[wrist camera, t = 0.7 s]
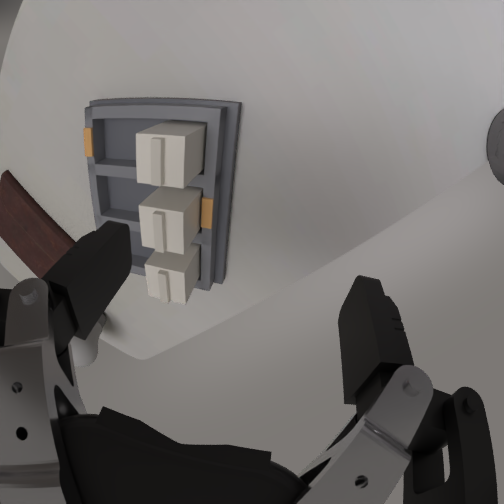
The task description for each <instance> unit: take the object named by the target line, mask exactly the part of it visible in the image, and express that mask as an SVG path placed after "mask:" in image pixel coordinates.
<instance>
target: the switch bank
mask: <svg viewBox="0 0 504 504" xmlns="http://www.w3.org/2000/svg"><path fill="white" fill-rule="evenodd" d="M240 111H241V102H232V101H221V100H208V99H191V98H117V99H100V100H93V101H90V106H89V107H86V108H85V128H84V146H85V156H87V161H88V172H89V181H90V189H91V197H92V204H93V211H94V217H95V223H96V229H97V230H98V229H99V228H100V227H101V226H102V225H103V224H104V223H105V222H106V221H108V220H111V221H116V222H120V223H125V224H128V226H129V228H130V240H131V252H132V267H131V270H130V273H134V274H138V275H142V276H146V272H145V263H146V261H147V260H148V259H149V257H150V256H151V255H152V253H153V252H154V251H155V249H154V248H149V247H144V246H142V239H141V228H140V217H139V204H141V203H142V202H143V201H144V200H145V199H146V198H147V197H148V196H149V195H151V194H152V193H153V192H154V191H155V190H156V189H157V188H159V187H160V186H153V185H151V184H144V183H137V168H136V133H138V132H140V131H143V130H145V129H148V128H150V127H153V126H155V125H158V124H160V123H163V122H165V121H168V120H176V121H192V122H204V123H208V124H207V137H206V152H205V168H204V169H203V170H202V171H201V172H200V173H199V174H198V175H197V176H196V177H195V178H194V179H193V180H192V181H191V182H190V183H189V184H188V185H187V186H194V187H201V188H203V198H202V212H201V228H200V230H199V231H198V233H197V234H196V236H195V237H194V239H193V241H192V242H193V243H198V244H201V274H200V276H199V278H198V280H197V282H196V284H195V286H194V288H198V289H202V290H207V291H210V289H211V286H212V284H213V282H214V283H219V284H223V281H224V279H225V268H226V256H227V243H228V232H229V220H230V209H231V198H232V187H233V177H234V167H235V157H236V147H237V138H238V129H239V120H240Z"/></svg>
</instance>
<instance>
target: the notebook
mask: <svg viewBox="0 0 504 504" xmlns="http://www.w3.org/2000/svg"><path fill="white" fill-rule="evenodd" d="M0 236H1V238H2V239H3V240H4V241H5V242H6V243H7V245H8V246H9V247H10V248H11V249H12V250H13V251H14V252H15V254H16V255H17V256H18V257H19V258H20V259H21V260H22V261H23V262H24V263H25V264H26V265H27V266H28V267H29V268H30V270H31V271H32V272H33V273H34V274H35V275H36V276H37V277H38V278H39V279H41V278H42V277H43V276H44V275H45V274H46V273H47V272H48V271H49V269H50V268H51V267H52V266H53V265H54V264H55V263H56V262H57V261H58V260H59V259H60V258H61V257H62V256H63V255H64V254H66V252H67V251H68V250H69V249H70V248H71V247H73V245H74V244H75V243H76V242H75V241H74V240H73V239H72V238H71V237H70V236H69V235H68V234H67V233H66V232H65V231H64V230H63V229H62V228H61V227H60V226H59V225H58V224H57V223H56V222H55V221H54V220H53V219H52V218H51V217H50V216H49V215H48V214H47V213H46V212H45V211H44V210H43V209H42V208H41V207H40V206H39V204H38V203H37V202H36V201H35V200H34V199H33V198H32V197H31V196H30V195H29V194H28V192H27V191H26V190H25V189H24V188H23V187H22V186H21V185H20V183H19V182H18V181H17V180H16V179H15V178H14V176H13V175H12V174H11V173H10V172H9V171H8V170H6V171H5V172H4V173H3V174H2V175H1V180H0Z"/></svg>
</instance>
